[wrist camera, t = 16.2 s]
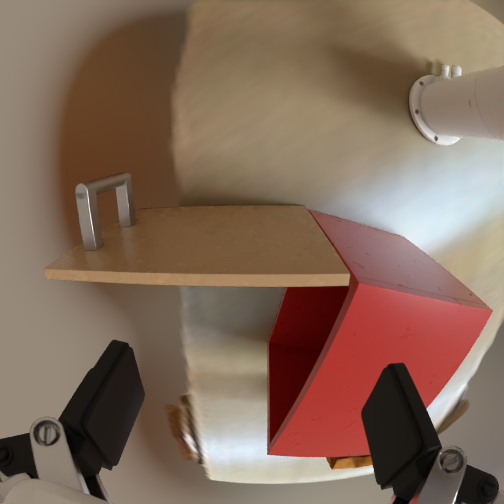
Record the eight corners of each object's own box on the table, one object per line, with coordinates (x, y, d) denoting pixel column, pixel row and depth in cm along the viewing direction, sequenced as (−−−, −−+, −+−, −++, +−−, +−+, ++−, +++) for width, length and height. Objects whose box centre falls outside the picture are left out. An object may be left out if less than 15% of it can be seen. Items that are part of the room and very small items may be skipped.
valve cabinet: (267, 343, 51) (267, 454, 29) (308, 209, 42) (359, 282, 19) (350, 355, 52) (382, 453, 29) (404, 237, 43) (493, 310, 20)
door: (136, 167, 40) (28, 196, 18) (305, 161, 39) (359, 177, 17) (140, 214, 43) (46, 278, 21) (304, 211, 42) (348, 285, 19)
